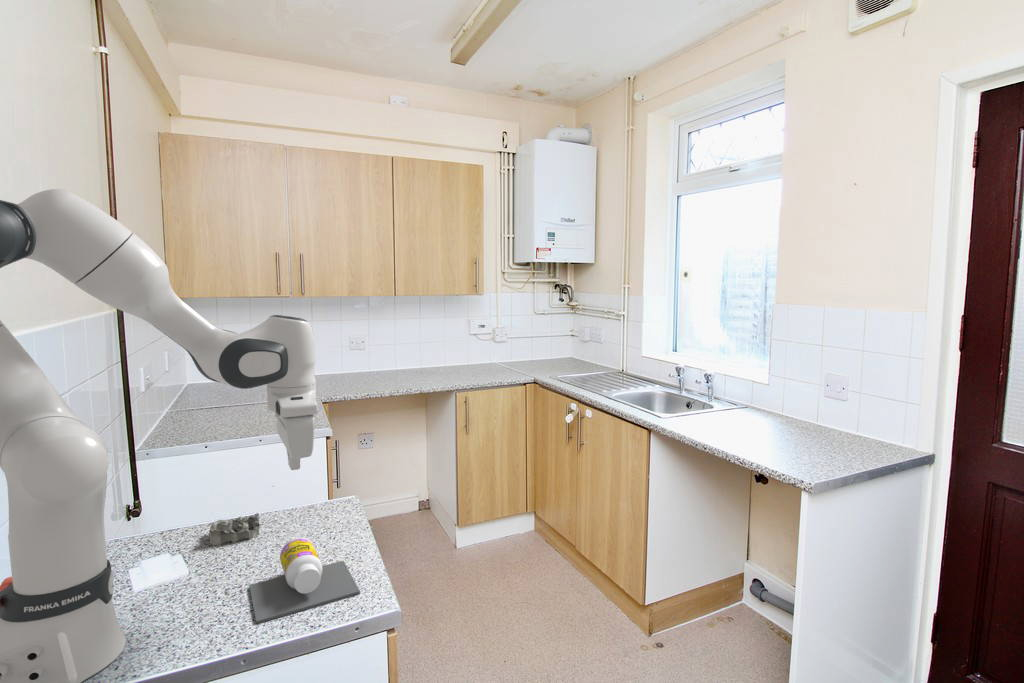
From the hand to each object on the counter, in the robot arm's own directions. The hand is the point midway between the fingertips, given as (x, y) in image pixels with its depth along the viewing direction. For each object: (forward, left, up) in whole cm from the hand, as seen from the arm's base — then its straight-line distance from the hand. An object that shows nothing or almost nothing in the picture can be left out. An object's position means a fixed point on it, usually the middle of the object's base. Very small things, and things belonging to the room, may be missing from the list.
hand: (294, 467), depth 103 cm
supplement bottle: (0, +4, -19) cm, 20 cm away
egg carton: (-10, +27, -24) cm, 37 cm away
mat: (0, -5, -23) cm, 24 cm away
